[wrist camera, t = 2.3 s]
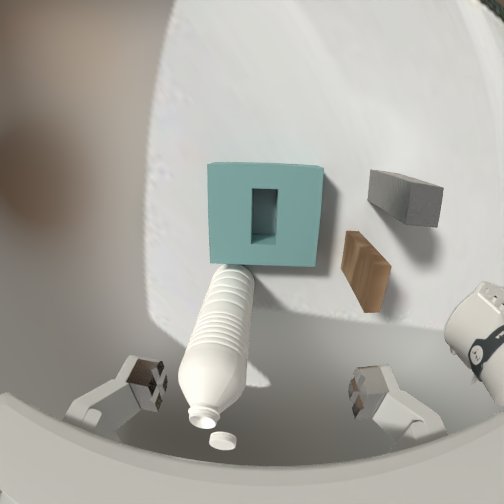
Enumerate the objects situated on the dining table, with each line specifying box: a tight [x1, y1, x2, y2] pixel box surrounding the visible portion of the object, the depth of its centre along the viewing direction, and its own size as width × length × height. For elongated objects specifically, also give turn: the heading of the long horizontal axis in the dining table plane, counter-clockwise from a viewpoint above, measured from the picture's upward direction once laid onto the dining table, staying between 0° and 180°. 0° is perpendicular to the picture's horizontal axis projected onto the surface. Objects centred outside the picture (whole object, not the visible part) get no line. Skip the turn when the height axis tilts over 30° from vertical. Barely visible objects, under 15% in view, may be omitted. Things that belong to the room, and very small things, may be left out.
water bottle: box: [178, 264, 254, 450], centre depth 31 cm, size 9×6×25 cm
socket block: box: [207, 162, 324, 267], centre depth 35 cm, size 14×13×4 cm
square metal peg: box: [368, 169, 444, 228], centre depth 29 cm, size 4×4×12 cm
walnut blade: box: [341, 231, 391, 313], centre depth 33 cm, size 2×6×12 cm, turn 179°
